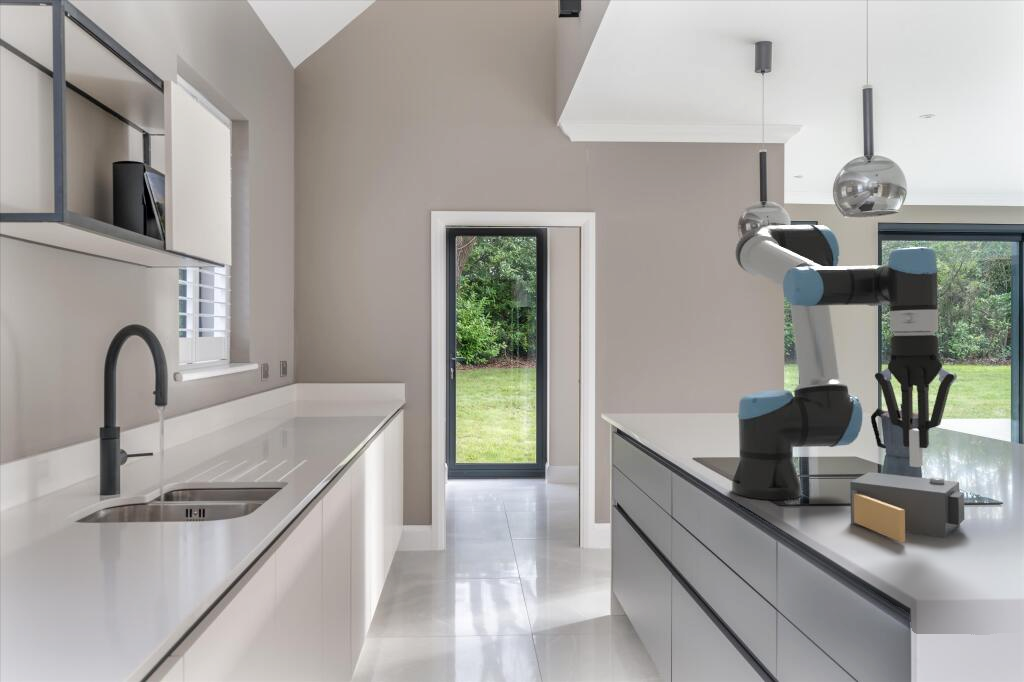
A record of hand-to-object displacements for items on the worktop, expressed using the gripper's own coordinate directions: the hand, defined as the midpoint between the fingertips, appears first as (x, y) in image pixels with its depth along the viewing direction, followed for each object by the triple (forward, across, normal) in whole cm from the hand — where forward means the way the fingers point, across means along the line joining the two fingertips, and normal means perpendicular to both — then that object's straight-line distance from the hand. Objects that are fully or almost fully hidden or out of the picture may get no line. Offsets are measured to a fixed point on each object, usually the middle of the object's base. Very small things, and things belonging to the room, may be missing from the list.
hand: (916, 465), depth 128 cm
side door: (+13, -6, -2) cm, 14 cm away
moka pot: (+13, -13, +42) cm, 46 cm away
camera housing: (+13, -4, +9) cm, 16 cm away
